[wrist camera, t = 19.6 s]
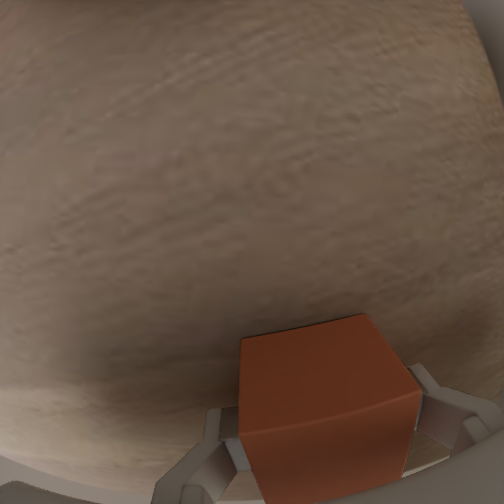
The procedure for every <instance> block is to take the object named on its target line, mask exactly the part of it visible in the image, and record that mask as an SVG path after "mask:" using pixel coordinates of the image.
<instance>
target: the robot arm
mask: <svg viewBox="0 0 504 504" xmlns="http://www.w3.org/2000/svg"><path fill="white" fill-rule="evenodd" d="M407 370H408V371H409V373H410V374H411V375H412V377H413V378H414V380H415V381H416V382H417V384H418V385H419V387H420V388H421V390H422V394H421V399H420V405H419V410H418V415H417V420H416V424H415V429H414V431H415V430H417V431H418V432H420V433H422V434H424V435H425V436H427V437H429V438H431V439H432V440H434V441H436V442H438V443H440V444H441V445H443V446H445V447H447V448H449V449H450V450H452V452H451V454H450V457H449V458H448V459H446V460H444V461H442V462H440V463H437V464H435V465H433V466H431V467H428V468H426V469H424V470H421V471H419V472H416V473H414V474H411V475H409V476H406V477H404V478H401V479H398V480H395V481H393V482H390V483H387V484H384V485H381V486H378V487H374V488H371V489H368V490H365V491H361V492H358V493H354V494H350V495H346V496H342V497H338V498H334V499H330V500H325V501H321V502H316V503H310V504H504V411H503V410H502V409H501V408H500V407H499V405H498V404H497V403H496V402H493V401H489V400H486V399H483V398H479V397H476V396H473V395H470V394H466V393H463V392H460V391H457V390H454V389H451V388H448V387H445V386H444V387H442V388H441V387H440V386H439V384H438V383H437V382H436V381H435V379H434V378H433V377H432V376H431V374H430V373H429V372H428V371H427V370H426V368H425V367H424V366H423V365H422V364H421V363H417V364H415V365H412V366H409V367H407ZM238 416H239V406H237V407H227V408H219V409H208V411H207V414H206V420H205V427H204V434H203V441H202V443H198V444H197V445H196V446H195V447H193V448H192V449H191V450H190V451H189V452H188V453H187V454H186V455H185V456H184V457H183V458H182V459H181V460H180V461H179V462H178V463H177V464H176V465H175V466H174V467H173V468H172V469H171V470H169V471H168V472H167V473H166V474H165V475H164V476H163V477H162V478H161V479H160V480H159V481H157V482H156V484H155V488H154V493H153V497H152V501H151V504H215V503H216V502H217V500H218V499H219V498H220V496H221V495H222V493H223V492H224V491H225V489H226V488H227V487H228V485H229V484H230V482H231V481H232V479H233V478H234V477H235V475H236V474H237V471H246V470H252V469H251V467H250V464H249V462H248V459H247V457H246V454H245V451H244V449H243V446H242V443H241V441H240V438H239V435H238ZM0 504H99V503H94V502H90V501H85V500H81V499H77V498H73V497H69V496H65V495H61V494H57V493H54V492H50V491H48V490H44V489H41V488H38V487H35V486H32V485H30V484H27V483H24V482H21V481H11V482H8V483H6V484H4V485H2V486H0Z"/></svg>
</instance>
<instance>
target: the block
mask: <svg viewBox="0 0 504 504" xmlns="http://www.w3.org/2000/svg"><path fill="white" fill-rule="evenodd" d="M421 394H422V390H421V388H420V387H419V385H418V384H417V382H416V381H415V380H414V378H413V377H412V375H411V374H410V373H409V371H408V370H407V368H406V367H405V366H404V364H403V363H402V362H401V360H400V359H399V357H398V356H397V355H396V353H395V352H394V351H393V349H392V348H391V347H390V345H389V344H388V343H387V341H386V340H385V339H384V337H383V336H382V335H381V333H380V332H379V331H378V329H377V328H376V327H375V325H374V324H373V323H372V321H371V320H370V319H369V318H368V316H367V315H366V314H360V315H356V316H351V317H347V318H343V319H339V320H335V321H330V322H326V323H321V324H317V325H312V326H307V327H303V328H298V329H293V330H288V331H283V332H278V333H272V334H267V335H262V336H256V337H250V338H245V339H241V342H240V377H239V416H238V435H239V438H240V441H241V443H242V446H243V449H244V451H245V454H246V457H247V459H248V462H249V464H250V467H251V469H252V472H253V474H254V477H255V479H256V482H257V484H258V487H259V489H260V491H261V494H262V496H263V498H264V501H265V503H266V504H310V503H316V502H321V501H325V500H330V499H334V498H338V497H342V496H346V495H350V494H354V493H358V492H361V491H365V490H368V489H371V488H374V487H378V486H381V485H384V484H387V483H390V482H393V481H395V480H398V479H401V478H402V474H403V471H404V468H405V464H406V461H407V457H408V453H409V449H410V446H411V442H412V437H413V433H414V429H415V424H416V420H417V415H418V410H419V405H420V399H421Z"/></svg>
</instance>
